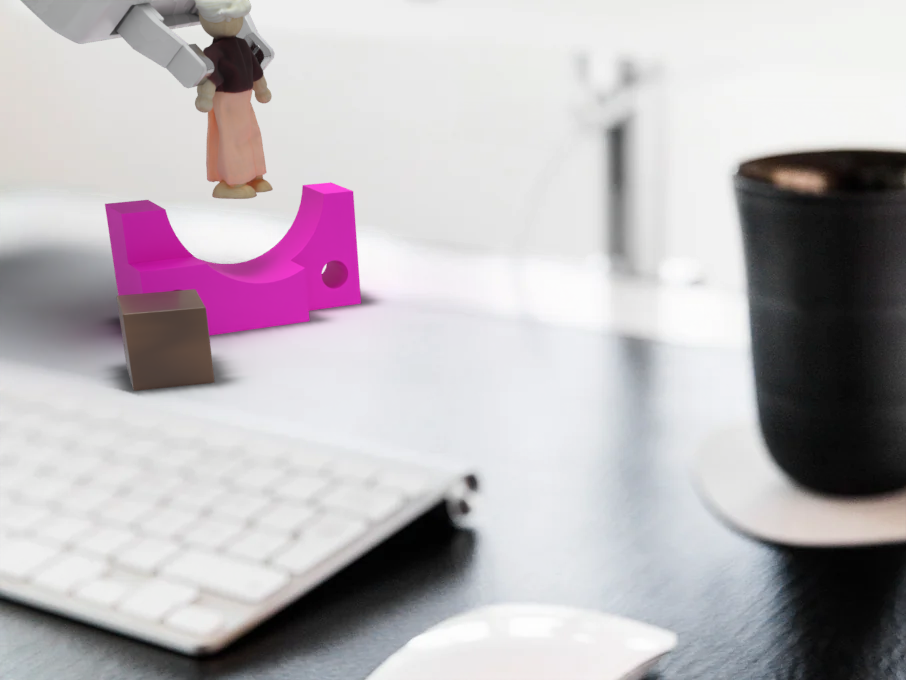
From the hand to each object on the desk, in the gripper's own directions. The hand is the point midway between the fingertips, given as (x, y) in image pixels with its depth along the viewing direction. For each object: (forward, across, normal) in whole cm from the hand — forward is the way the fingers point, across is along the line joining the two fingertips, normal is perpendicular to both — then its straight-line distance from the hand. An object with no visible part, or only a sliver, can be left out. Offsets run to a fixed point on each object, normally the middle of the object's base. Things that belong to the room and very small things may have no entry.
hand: (234, 72), depth 86 cm
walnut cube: (+11, +13, -10) cm, 20 cm away
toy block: (+10, 0, -11) cm, 15 cm away
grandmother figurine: (+5, 0, -6) cm, 8 cm away
